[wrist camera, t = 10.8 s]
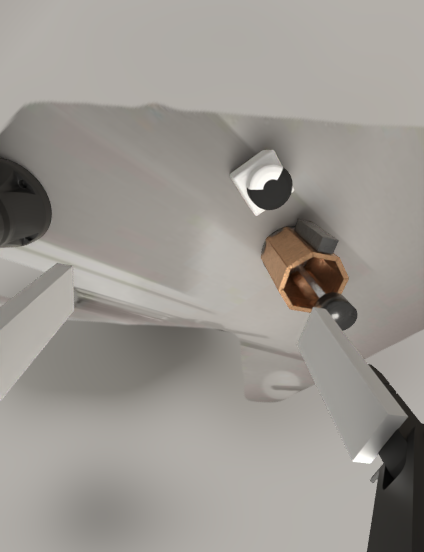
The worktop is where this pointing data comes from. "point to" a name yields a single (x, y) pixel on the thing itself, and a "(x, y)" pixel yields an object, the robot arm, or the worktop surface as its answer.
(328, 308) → the plunger
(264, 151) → the medicine bottle
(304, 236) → the press carafe
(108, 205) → the worktop surface
